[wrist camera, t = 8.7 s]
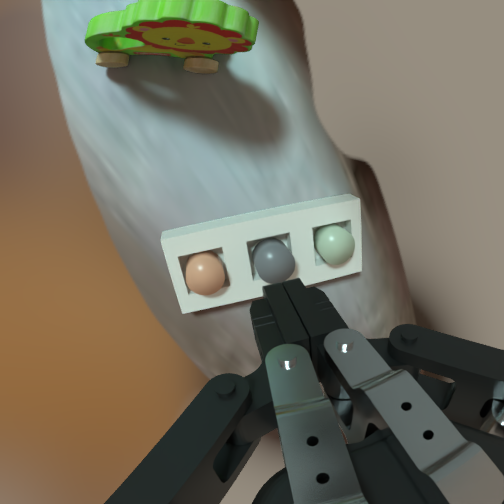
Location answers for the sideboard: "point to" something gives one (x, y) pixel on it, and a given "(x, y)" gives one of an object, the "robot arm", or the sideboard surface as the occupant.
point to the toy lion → (172, 32)
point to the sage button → (333, 243)
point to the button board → (249, 235)
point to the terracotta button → (204, 272)
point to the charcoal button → (273, 260)
